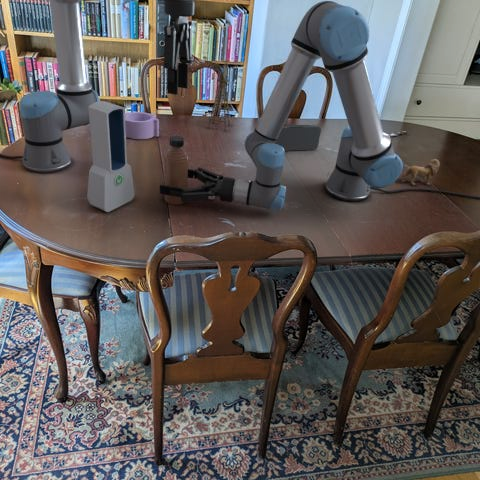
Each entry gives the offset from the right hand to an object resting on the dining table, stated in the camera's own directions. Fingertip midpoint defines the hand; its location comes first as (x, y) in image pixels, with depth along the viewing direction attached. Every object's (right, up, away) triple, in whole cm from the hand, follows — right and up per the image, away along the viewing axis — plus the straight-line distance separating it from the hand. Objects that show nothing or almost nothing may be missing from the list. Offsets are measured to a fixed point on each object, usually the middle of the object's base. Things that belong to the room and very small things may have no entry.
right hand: (167, 179), depth 144 cm
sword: (+90, +28, +70) cm, 118 cm away
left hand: (+5, +23, -15) cm, 28 cm away
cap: (+4, +11, -7) cm, 14 cm away
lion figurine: (+89, +3, +31) cm, 95 cm away
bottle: (+2, -6, +3) cm, 7 cm away
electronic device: (-16, -7, -3) cm, 18 cm away
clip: (-21, +25, +46) cm, 56 cm away
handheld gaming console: (+44, +18, +47) cm, 67 cm away
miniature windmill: (+13, +32, +63) cm, 71 cm away
